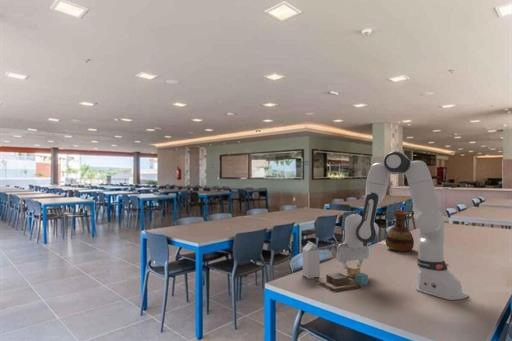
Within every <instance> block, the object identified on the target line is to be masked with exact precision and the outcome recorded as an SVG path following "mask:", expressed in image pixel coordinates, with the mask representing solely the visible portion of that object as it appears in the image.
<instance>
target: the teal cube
mask: <svg viewBox="0 0 512 341" xmlns="http://www.w3.org/2000/svg"><path fill="white" fill-rule="evenodd" d="M354 279H355V280H354V282H356V283H359V284H361V286H363V284H364V285H368V284H369V275H368V274H365V273H363V272H360V273H358V274H355V278H354Z"/></svg>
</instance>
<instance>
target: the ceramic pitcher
mask: <svg viewBox="0 0 512 341" xmlns="http://www.w3.org/2000/svg"><path fill="white" fill-rule="evenodd" d="M392 214H394V216H395V223H394V226H392V227H391V228H390V229H389V230H388V231H387V233H386V237H385V245H386V247H387V248H389V249H391V250H395V251H397V250H398V251H397V252H408V251H411V250H413V248H414V246H415V244H414V243H415V242H414V240H415V239H414V237H413V234H412V233H411V231H410V229H409V228H408V227H406V226H405V218H406V216H407V215H408V214H409V212H408V211H406V210H393V211H392Z"/></svg>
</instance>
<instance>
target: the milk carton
mask: <svg viewBox="0 0 512 341" xmlns="http://www.w3.org/2000/svg"><path fill="white" fill-rule="evenodd" d="M320 254H321V253H320V249H318V247H317V244H315V243H314V242H311V241H310V240H307V243H306V244H305V245H304V246H303V247H302V276H303V277H305V276H306V277H307V278H306V277H305V278H306V279H308V278H309V279H315V278H314V277H319V278H320V276H321V275H320V274H321V272H320V271H321V268H320V264H321V263H320V261H321V260H320V257H321V256H320Z"/></svg>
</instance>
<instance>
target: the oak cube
mask: <svg viewBox="0 0 512 341" xmlns="http://www.w3.org/2000/svg"><path fill="white" fill-rule="evenodd" d="M358 273H361V267H357V266H356V265H351V266H350V265H349V266H348V269H346V276H347V275H348V277H349V276H351V277H350V278H352V277H353V278H352V279H355V278H354V277H355V274H358Z"/></svg>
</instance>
